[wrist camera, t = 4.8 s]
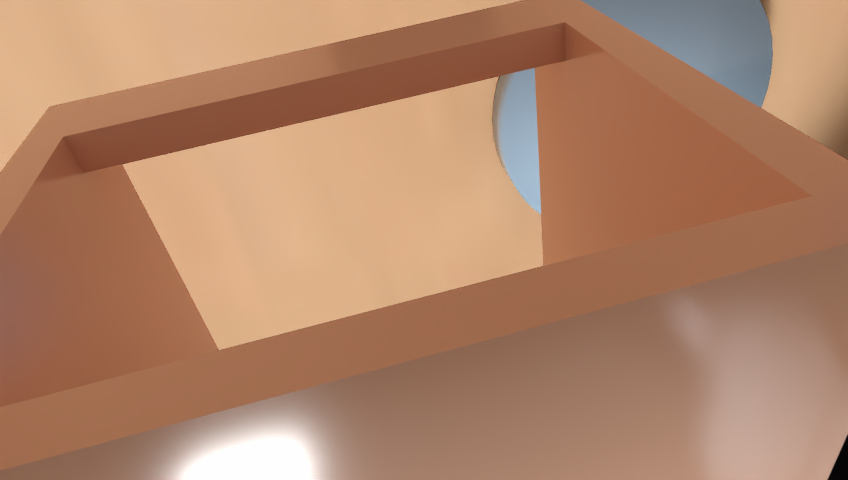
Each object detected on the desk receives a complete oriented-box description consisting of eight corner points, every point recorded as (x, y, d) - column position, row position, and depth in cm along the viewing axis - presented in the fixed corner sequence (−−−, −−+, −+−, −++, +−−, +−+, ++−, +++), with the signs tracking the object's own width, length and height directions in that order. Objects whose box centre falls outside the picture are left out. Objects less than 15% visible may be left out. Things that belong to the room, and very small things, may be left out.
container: (565, -10, 9) (943, 217, 4) (569, 341, 13) (748, 655, 8) (49, 107, 8) (-281, 545, 3) (233, 432, 12) (211, 828, 7)
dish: (793, -49, 20) (819, -41, 19) (700, 204, 26) (717, 219, 25) (512, -53, 18) (526, -45, 17) (478, 223, 24) (487, 240, 23)
